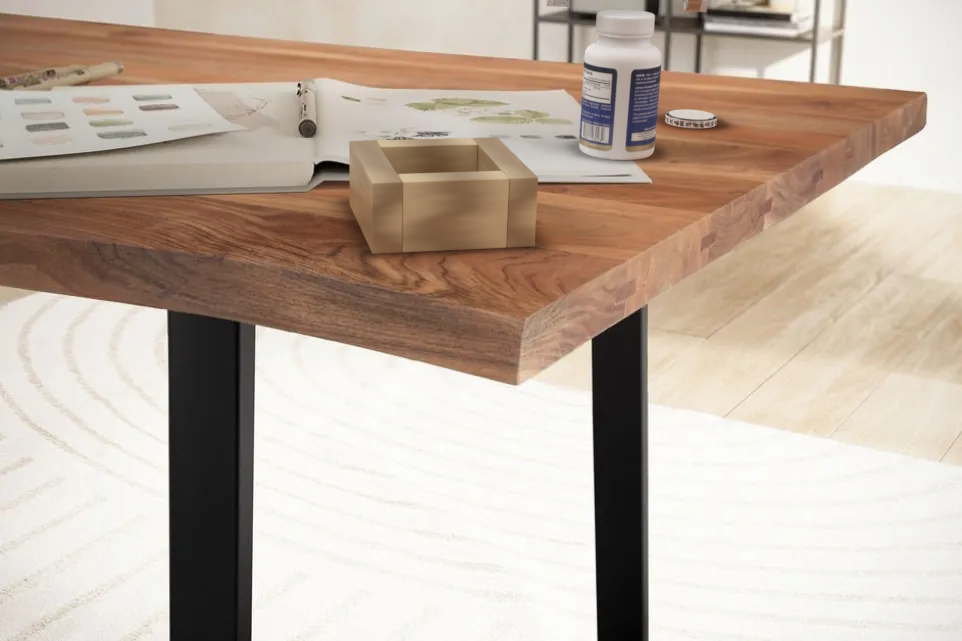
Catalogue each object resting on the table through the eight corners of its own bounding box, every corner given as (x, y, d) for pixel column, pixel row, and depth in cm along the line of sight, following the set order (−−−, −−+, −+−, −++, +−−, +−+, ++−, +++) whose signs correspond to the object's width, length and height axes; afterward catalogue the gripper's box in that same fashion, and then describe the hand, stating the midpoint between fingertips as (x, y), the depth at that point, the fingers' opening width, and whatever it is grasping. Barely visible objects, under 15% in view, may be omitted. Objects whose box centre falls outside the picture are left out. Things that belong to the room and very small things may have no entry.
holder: (372, 255, 65) (372, 182, 64) (349, 206, 74) (349, 140, 72) (534, 247, 67) (538, 177, 66) (495, 200, 76) (497, 137, 74)
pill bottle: (649, 144, 90) (661, 8, 86) (657, 163, 85) (670, 20, 81) (576, 141, 90) (584, 6, 86) (580, 160, 85) (589, 17, 81)
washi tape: (672, 114, 99) (673, 106, 99) (721, 120, 98) (722, 112, 97) (659, 124, 96) (660, 116, 95) (709, 130, 94) (710, 122, 94)
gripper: (479, -194, 85) (475, -33, 80) (772, -182, 86) (787, -21, 80) (477, -128, 91) (472, 26, 86) (751, -117, 91) (764, 37, 86)
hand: (627, 4), depth 83 cm, fingers open, 8 cm apart
